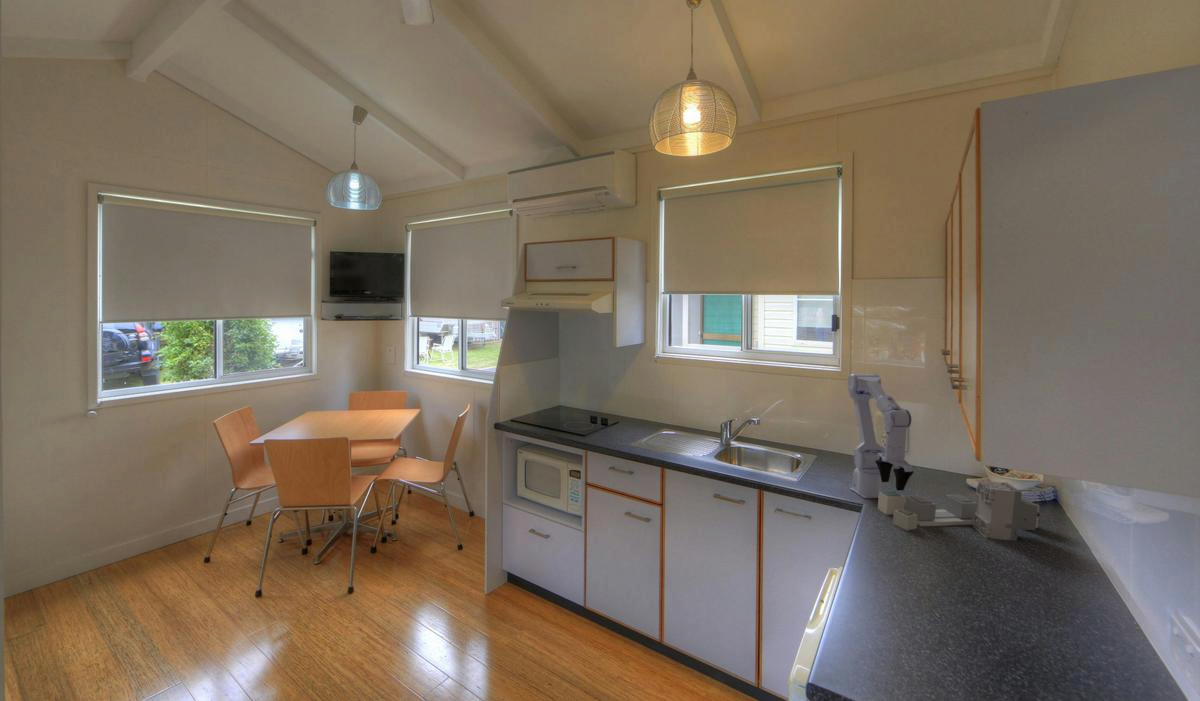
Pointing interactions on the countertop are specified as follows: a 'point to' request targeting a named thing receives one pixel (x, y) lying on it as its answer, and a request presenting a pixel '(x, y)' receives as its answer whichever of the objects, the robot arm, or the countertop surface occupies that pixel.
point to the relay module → (890, 502)
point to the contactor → (905, 519)
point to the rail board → (942, 511)
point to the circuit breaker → (1003, 511)
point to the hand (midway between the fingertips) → (892, 485)
